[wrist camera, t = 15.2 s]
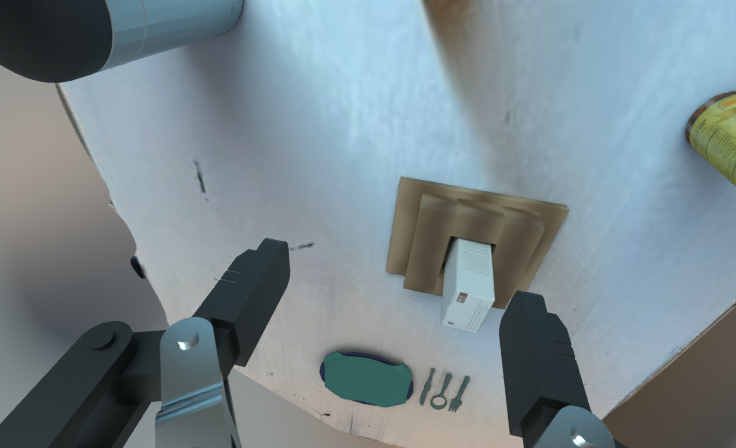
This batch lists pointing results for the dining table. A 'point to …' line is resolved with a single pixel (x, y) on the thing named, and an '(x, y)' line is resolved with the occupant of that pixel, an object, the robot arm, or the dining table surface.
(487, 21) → the dining table surface
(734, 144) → the sauce bottle
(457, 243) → the skincare box
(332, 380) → the cutlery set
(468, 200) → the socket holder
